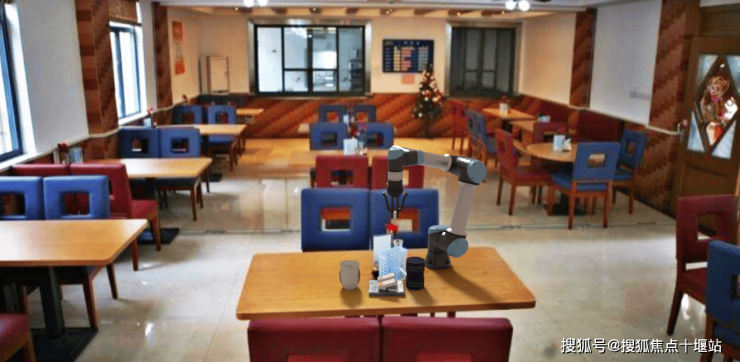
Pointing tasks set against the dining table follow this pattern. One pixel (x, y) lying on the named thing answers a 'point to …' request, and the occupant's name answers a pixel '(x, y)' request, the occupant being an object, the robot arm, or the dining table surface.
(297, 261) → the dining table surface
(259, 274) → the dining table surface
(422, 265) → the storage jar
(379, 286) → the paddle near
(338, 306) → the dining table surface
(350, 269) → the pitcher
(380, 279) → the paddle far
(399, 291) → the breaker panel
